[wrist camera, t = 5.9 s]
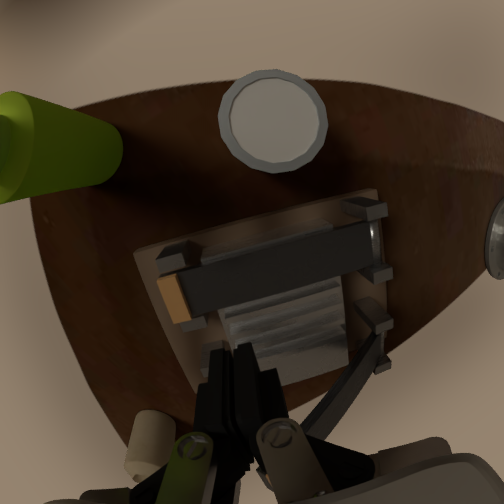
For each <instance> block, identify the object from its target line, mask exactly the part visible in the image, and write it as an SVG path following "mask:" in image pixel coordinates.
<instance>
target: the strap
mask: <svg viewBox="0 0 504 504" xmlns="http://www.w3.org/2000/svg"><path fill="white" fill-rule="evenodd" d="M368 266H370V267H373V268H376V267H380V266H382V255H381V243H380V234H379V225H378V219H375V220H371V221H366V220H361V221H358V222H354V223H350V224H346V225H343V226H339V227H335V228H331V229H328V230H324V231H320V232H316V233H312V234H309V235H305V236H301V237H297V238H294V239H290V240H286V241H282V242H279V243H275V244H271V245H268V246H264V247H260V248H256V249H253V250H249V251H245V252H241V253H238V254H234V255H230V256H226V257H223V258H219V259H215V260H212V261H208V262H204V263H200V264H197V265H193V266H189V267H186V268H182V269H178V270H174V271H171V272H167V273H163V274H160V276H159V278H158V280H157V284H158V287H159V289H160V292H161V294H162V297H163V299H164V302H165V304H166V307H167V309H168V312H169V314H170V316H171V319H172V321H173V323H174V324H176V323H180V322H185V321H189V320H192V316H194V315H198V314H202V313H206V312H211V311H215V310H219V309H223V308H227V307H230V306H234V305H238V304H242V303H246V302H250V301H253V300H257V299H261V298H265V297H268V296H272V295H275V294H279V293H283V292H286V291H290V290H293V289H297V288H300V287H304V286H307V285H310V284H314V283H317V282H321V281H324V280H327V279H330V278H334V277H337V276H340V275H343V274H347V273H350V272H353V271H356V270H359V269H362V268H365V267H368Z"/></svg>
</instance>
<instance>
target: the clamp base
mask: <svg viewBox="0 0 504 504" xmlns="http://www.w3.org/2000/svg"><path fill="white" fill-rule="evenodd" d="M386 216H388V210H387V203H386V202H382V201H378V194H377V190H376V189H370V188H368V189H363V190H359V191H354V192H350V193H346V194H341V195H337V196H333V197H328V198H324V199H320V200H316V201H312V202H307V203H303V204H299V205H295V206H291V207H287V208H283V209H279V210H275V211H271V212H267V213H264V214H260V215H256V216H252V217H248V218H244V219H241V220H237V221H233V222H230V223H226V224H222V225H219V226H215V227H211V228H208V229H204V230H201V231H197V232H193V233H190V234H186V235H183V236H180V237H176V238H173V239H169V240H166V241H162V242H159V243H156V244H152V245H149V246H146V247H142V248H139V249H137V250H136V251H135V252H134V253H133V255H134V258H135V261H136V264H137V266H138V269H139V272H140V274H141V277H142V279H143V282H144V285H145V287H146V290H147V292H148V295H149V297H150V299H151V302H152V304H153V307H154V309H155V311H156V314H157V316H158V318H159V320H160V323H161V325H162V327H163V329H164V332H165V334H166V336H167V338H168V340H169V342H170V345H171V347H172V349H173V351H174V353H175V355H176V357H177V359H178V361H179V363H180V365H181V367H182V369H183V371H184V373H185V375H186V377H187V379H188V380H189V382H190V384H191V386H192V388H193V390H194V392H195V393H197V390H198V385H199V384H200V383H206V382H208V371H209V359H210V351H211V350H215V349H220V348H224V349H225V351H227V350H230V352H231V354H232V357H233V349H236V348H237V345H238V344H243V343H247V342H251V343H252V346H253V349H254V353H255V356H256V359H257V362H258V365H259V368H260V371H265V370H269V369H273V368H277V371H278V375H279V379H280V382H281V386H284V385H287V384H291V383H294V382H298V381H301V380H304V379H308V378H311V377H314V376H317V375H320V374H323V373H326V372H329V371H332V370H335V369H338V368H340V367H343V366H346V365H349V361H348V352H351V351H354V350H356V349H357V350H358V351H359V349H360V348H361V346H362V345H363V344H364V342H365V341H366V339H367V338H368V336H369V335H370V333H371V331H373V332H374V333H375V334H376V335H377V334H380V333H382V332H384V338H386V337H387V330H389V329H392V328H393V318H392V317H391V316H390V315H389V314H388V313H387V292H386V281H387V280H390V279H393V269H392V266H390V265H389V264H387V263H385V255H384V243H383V233H382V224H381V218H382V217H386ZM375 219H378V225H379V234H380V243H381V255H382V266H380V267H376V268H373V267H370V266H368V267H365V268H362V269H359V270H356V271H353V272H350V273H347V274H343V275H340V276H337V277H334V278H330V279H327V280H324V281H321V282H317V283H314V284H310V285H307V286H304V287H300V288H297V289H293V290H290V291H286V292H283V293H279V294H275V295H272V296H268V297H265V298H261V299H257V300H253V301H250V302H246V303H242V304H238V305H234V306H230V307H227V308H223V309H219V310H215V311H211V312H206V313H202V314H198V315H194V316H192V320H189V321H185V322H180V323H176V324H174V323H173V321H172V319H171V316H170V314H169V312H168V309H167V307H166V304H165V302H164V299H163V297H162V294H161V292H160V289H159V287H158V284H157V280H158V278H159V276H160V274H163V273H167V272H171V271H174V270H178V269H182V268H186V267H189V266H193V265H197V264H200V263H204V262H208V261H212V260H215V259H219V258H223V257H226V256H230V255H234V254H238V253H241V252H245V251H249V250H253V249H256V248H260V247H264V246H268V245H271V244H275V243H279V242H282V241H286V240H290V239H294V238H297V237H301V236H305V235H309V234H312V233H316V232H320V231H324V230H328V229H331V228H335V227H339V226H343V225H346V224H350V223H354V222H358V221H361V220H366V221H371V220H375ZM390 368H391V360H390V359H389V357H388V356H387V355H386V354H385V353H384V358H383V359H382V360H381V361H379V362H378V364H377V365H376V367H375V369H374V370H373V373H374V374H375V375H377V374H379V373H381V372H384V371H386V370H388V369H390Z"/></svg>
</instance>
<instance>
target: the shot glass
mask: <svg viewBox="0 0 504 504" xmlns="http://www.w3.org/2000/svg"><path fill="white" fill-rule="evenodd" d="M218 120H219V126H220V133H221V137H222V139H223V140H224V142H225V143H226V145H227V147H228V148H229V150H230V151H231V153H232V155H233V156H235V157H236V158H238V159H239V160H241V161H242V162H243V163H245V164H246V165H248V166H249V167H250V168H253V169H257V170H261V171H265V172H269V173H279V172H287V171H294V170H296V169H297V168H299V167H301V166H303V165H304V164H306V163H308V162H310V161H312V159H313V158H314V157H315V155H316V154H317V153H318V151H319V150H320V149H321V147H322V146H323V145H324V141H325V137H326V133H327V128H328V121H327V115H326V109H325V105H324V103H323V102H322V100H321V98H320V97H319V95H318V94H317V92H316V90H315V89H314V88H313V87H312V86H311V85H309V84H308V83H307V82H305V81H304V80H303V79H301V78H300V77H299V76H297V75H294V74H291V73H288V72H284V71H281V70H278V69H273V70H259V71H255V72H252V73H250V74H248V75H246V76H244V77H242V78H240V79H238V80H236V82H235V83H234V84H233V85H232V86H231V87H230V89H229V90H228V91H227V92H226V93H225V95H224V96H223V99H222V103H221V106H220V110H219V113H218Z"/></svg>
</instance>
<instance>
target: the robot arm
mask: <svg viewBox="0 0 504 504" xmlns="http://www.w3.org/2000/svg"><path fill="white" fill-rule="evenodd" d="M485 261H486V267H487V270H488V272H489V274H490V275H491V276H492V277H494V278H496V279H499V280H501V279H504V198H503V199H502V200H501V201H500V202H499V203H498V205H497V206H496V208H495V210H494V212H493V214H492V217H491V220H490V223H489V226H488V231H487V236H486V242H485ZM254 457H255V459H256V461H257V463H258V464H259V466H260V468H261V470H262V471H263V472H265V473H266V474H268V477H269V480H270V483H271V485H272V488H273V491H274V494H275V496H276V499H277V502H278V504H504V482H503V481H502V480H501V478H500V477H499V476H498V475H497V473H496V472H495V471H494V470H493V468H492V467H491V466H490V465H489V464H488V463H487V462H486V461H485V460H483V459H482V458H481V457H479V456H477V455H474V454H471V453H456V454H452V452H451V449H450V446H449V444H448V442H447V441H446V440H444V439H443V438H440V437H430V438H427V439H424V440H420V441H417V442H413V443H409V444H406V445H402V446H398V447H394V448H389V449H385V450H380V451H378V453H376V454H371V455H365V454H363V453H360V452H357V451H353V450H350V449H347V448H344V447H341V446H338V445H334V444H332V443H329V442H326V441H323V440H320V439H318V438H315V437H312V436H310V435H307V434H304V432H303V430H302V428H301V427H300V425H299V424H298V423H297V422H296V421H294V420H292V419H289V415H288V411H287V406H286V402H285V398H284V394H283V390H282V386H281V382H280V379H279V375H278V371H277V368H273V369H269V370H265V371H260V368H259V365H258V362H257V359H256V356H255V353H254V349H253V346H252V343H251V342H247V343H243V344H238V345H237V348H236V349H233V357H232V354H231V352H230V350H227V351H225V349H224V348H220V349H215V350H211V351H210V359H209V371H208V382H206V383H200V384H199V385H198V390H197V399H196V408H195V417H194V426H193V432H191V433H188V434H185V435H183V436H182V437H180V438H179V439H178V440H177V441H176V443H175V445H174V447H173V450H172V453H171V456H170V459H169V462H168V463H167V464H165V465H164V466H163V467H161V468H160V469H159V470H157V471H156V472H154V473H153V474H152V475H150V476H149V477H147V478H146V479H145V480H143V481H142V482H140V483H139V484H137V485H136V486H135V487H134V488H133V489H130V488H128V487H126V488H115V489H101V490H88V491H86V492H84V493H83V494H82V495H81V496H80V499H79V500H77V499H60V500H53V501H50V502H47V503H44V504H238V503H239V495H240V487H241V481H240V479H241V478H242V477H243V476H244V475H245V471H250V464H251V463H254Z"/></svg>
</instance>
